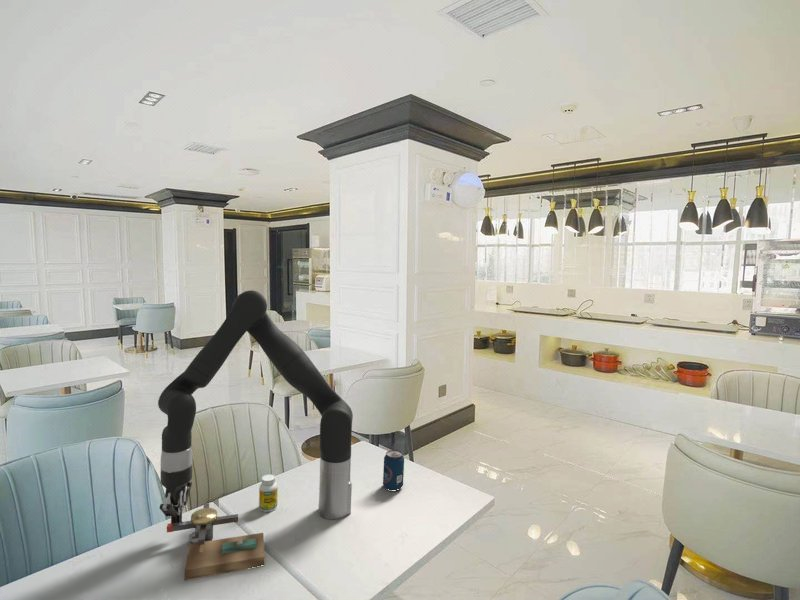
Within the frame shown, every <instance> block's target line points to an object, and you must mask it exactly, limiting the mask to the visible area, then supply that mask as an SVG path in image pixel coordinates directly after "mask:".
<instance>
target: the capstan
mask: <svg viewBox="0 0 800 600" xmlns="http://www.w3.org/2000/svg"><path fill="white" fill-rule="evenodd" d="M238 522H239V513H237V514H230V515H223V516H218V511H217V509H215V508H212V507H210V503H207V502H206V503H204V504H203V507H202V508H200V509H197V510H195V511H194V512H193V513H192V514H191V516H190V520H186V521H182V522H179V523H171V522H170V523H167V525H166V533H174V532H178V531H179V532H180V531H185V530H191V529H194V531H192V532H191V533H190V534H189V545H190V544H193V543H198V545H204V543H205V542H206V541H212V540H213V539H214V526H219V525H225V524H232V523H238Z"/></svg>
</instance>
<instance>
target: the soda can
mask: <svg viewBox="0 0 800 600" xmlns="http://www.w3.org/2000/svg"><path fill="white" fill-rule="evenodd" d="M404 472H405V457H404V454H403V451H401V450H398V449H392V450H390V449H389V450H387V451H386V452H385V456H383V475H382V484H383V487H384V489H385V488H386V489H389V490H397V489H400V488H401V487H403V486H404V478H405V476H404V475H405V473H404ZM386 489H385V490H386ZM401 489H402V488H401ZM401 489H400V490H401Z"/></svg>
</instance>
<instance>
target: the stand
mask: <svg viewBox="0 0 800 600" xmlns="http://www.w3.org/2000/svg"><path fill="white" fill-rule="evenodd" d="M264 537H265V536H264V532H257V533H252V534H247V535H245V534H244V535H239V536H232V537H227V538H226V537H225V538H219V539H214V540H213V539H212V541H206V542H205V543H204V545H198V543H193V544H190V543H189V545H188V550H187V556H186V560H185V565H184V571H183V572H184V579H183V580H184V581H187V580H193V579H194V580H195V579H201V578H205V577H210V576H215V575H216V576H217V575H222V574H227V573H228V574H229V573H233V572H239V571H243V570H248V568H251V569H253V568H252V567H256V568H258V567H257V566H261V565H265V564H266V563H265V562H266V561H265V559H266V558H265V557H266V553H265V552H266V551H265V540H264V539H265V538H264Z"/></svg>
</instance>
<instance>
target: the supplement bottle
mask: <svg viewBox="0 0 800 600" xmlns="http://www.w3.org/2000/svg"><path fill="white" fill-rule="evenodd" d="M278 488H279V486H278V483H277V482H276V476H275V474H266V475H265V474H264V475H263V476H262V477H261V483H260V485H259V486H258V491H259V492H258V494H259V495H258V496H259V498H258V504H259V505H258V508H259V510H260V511H261V512H263V513H265V512H266V513H268V512H273V511H275V510H276V509H277V507H278V490H279V489H278Z"/></svg>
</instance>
